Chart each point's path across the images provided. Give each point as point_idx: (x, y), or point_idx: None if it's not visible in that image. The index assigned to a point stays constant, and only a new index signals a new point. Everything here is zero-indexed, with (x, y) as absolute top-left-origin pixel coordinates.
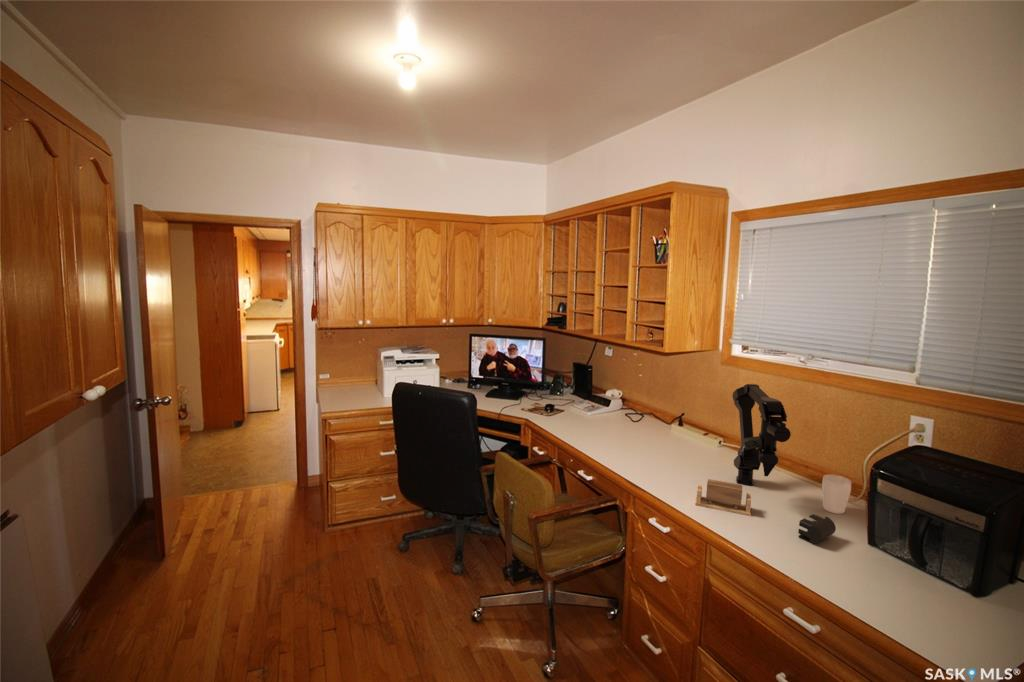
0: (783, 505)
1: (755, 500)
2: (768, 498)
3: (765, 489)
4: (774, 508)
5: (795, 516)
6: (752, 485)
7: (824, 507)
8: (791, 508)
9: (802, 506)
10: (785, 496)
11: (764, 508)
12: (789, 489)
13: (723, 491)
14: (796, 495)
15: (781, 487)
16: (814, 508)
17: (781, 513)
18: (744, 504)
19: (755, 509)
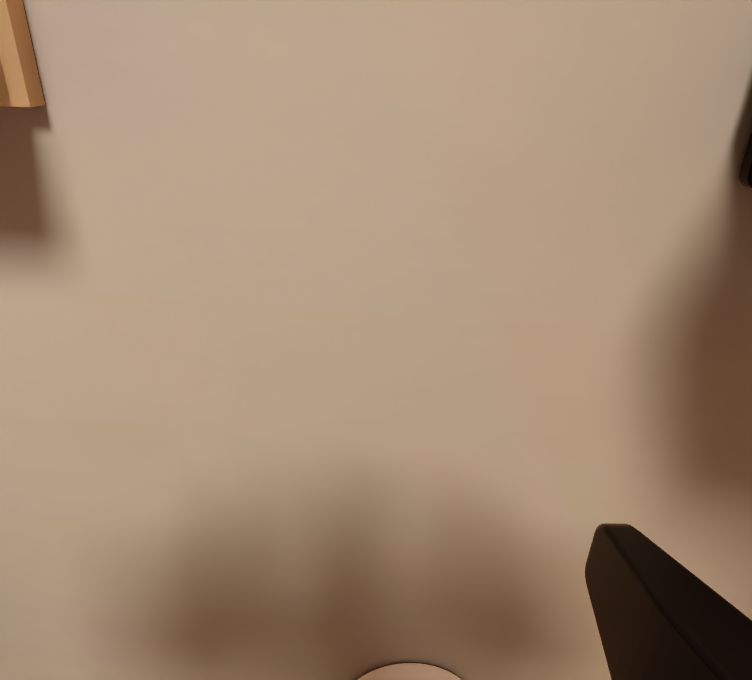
0: (312, 436)
1: (299, 182)
2: (421, 323)
3: (659, 311)
4: (193, 359)
5: (128, 499)
6: (741, 172)
7: (385, 676)
8: (280, 486)
9: (367, 557)
10: (531, 466)
11: (130, 267)
12: (705, 506)
13: None
14: (583, 541)
15: (742, 453)
16: (369, 617)
17: (115, 407)
18: (8, 22)
19: (35, 167)
